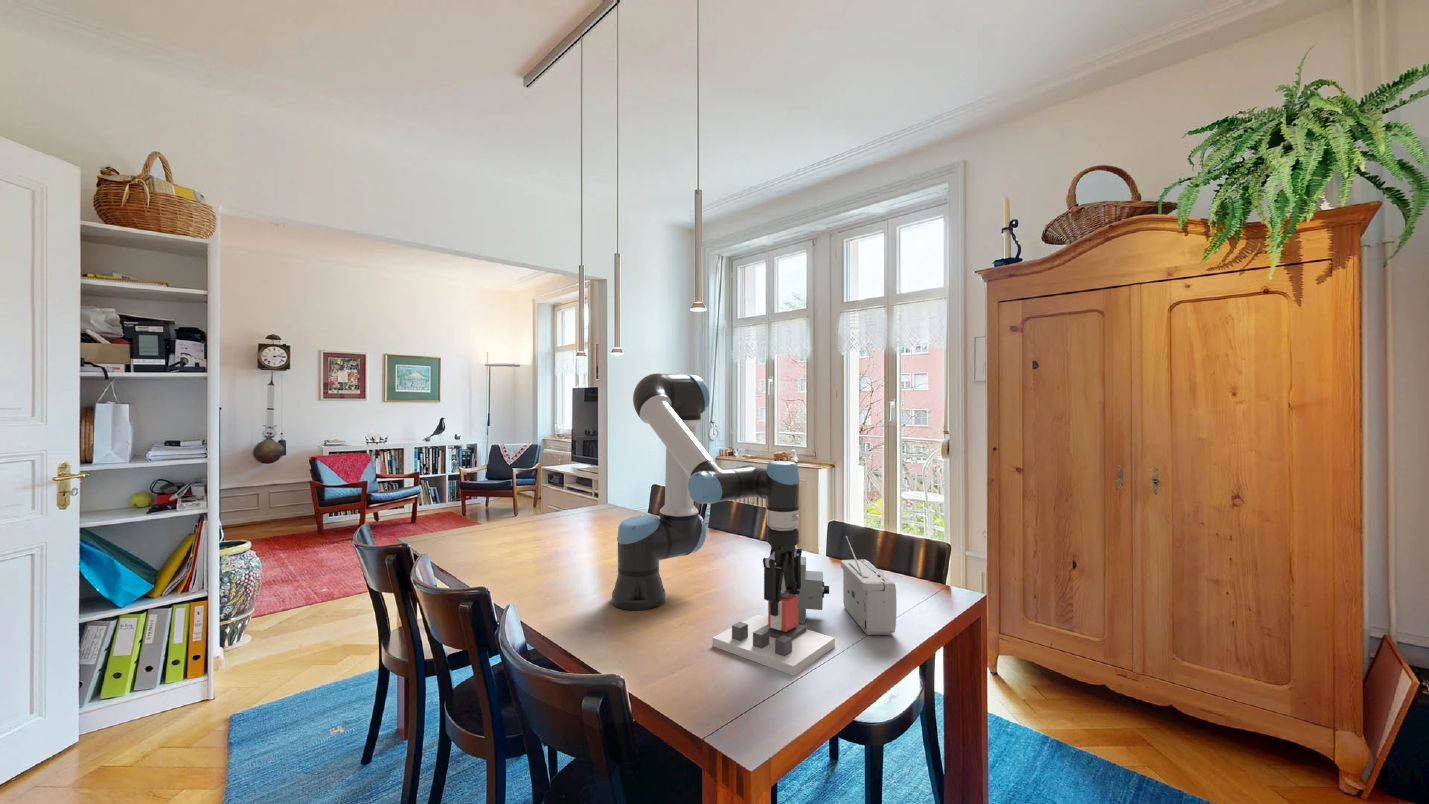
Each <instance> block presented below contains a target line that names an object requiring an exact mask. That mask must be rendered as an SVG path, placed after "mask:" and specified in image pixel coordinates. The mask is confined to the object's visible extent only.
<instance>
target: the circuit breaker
mask: <svg viewBox="0 0 1429 804" xmlns="http://www.w3.org/2000/svg"><path fill="white" fill-rule="evenodd" d="M776 568H779V567H776ZM823 574H824V573H823V571H817V570H807V557H806V556H801V588H800V589H797V590H798V591H800V593H799V595H797V594H795V596H797V599H798V624H805V622H806V616H807V610H814V611H816V610H817V611H823V606H824V605H823V604H824V598H825V595H830V585H825V581H823V580H824V575H823ZM796 584H797V582H796ZM781 590H785V591H786V587H785V581H784V574H783V580H782V587H781Z"/></svg>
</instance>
